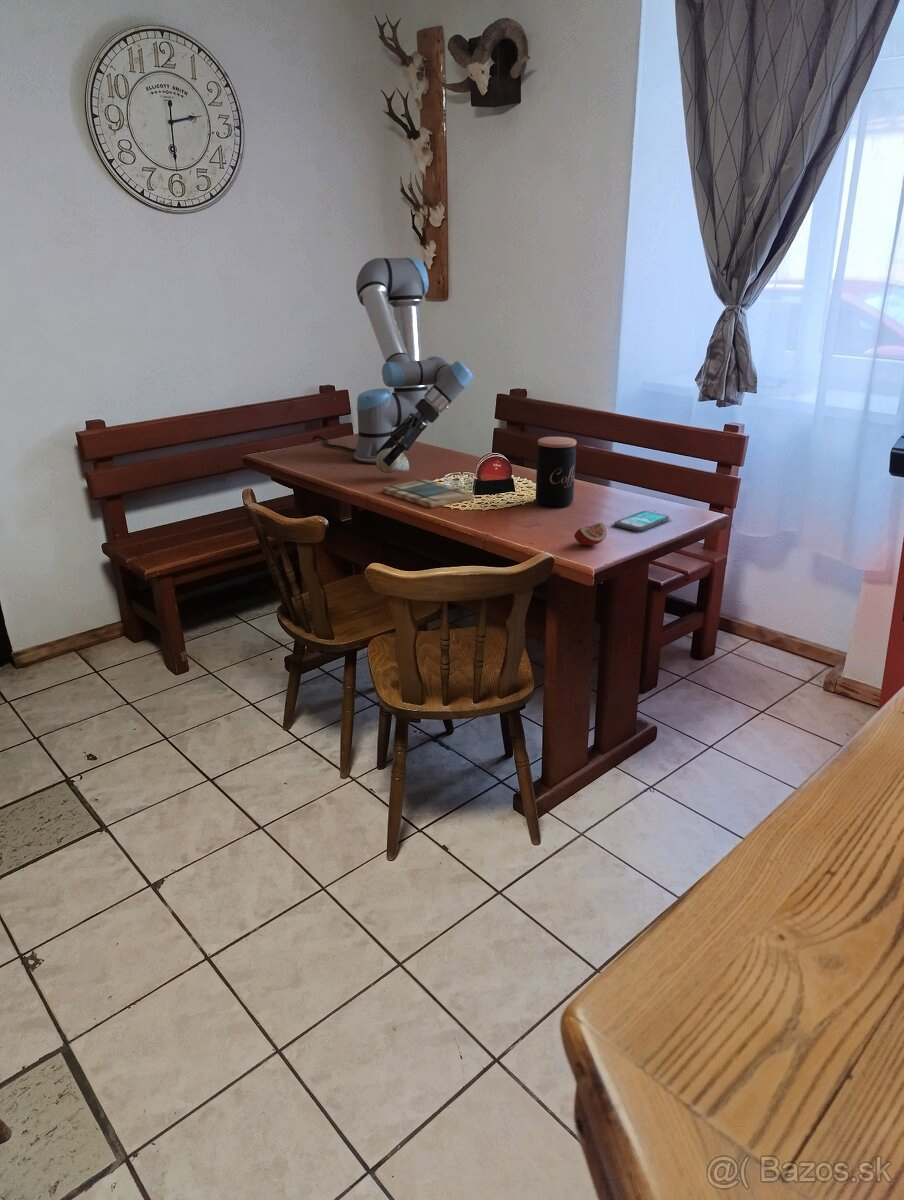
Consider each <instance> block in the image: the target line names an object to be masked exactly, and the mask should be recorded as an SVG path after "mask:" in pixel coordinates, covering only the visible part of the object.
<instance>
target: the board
mask: <svg viewBox="0 0 904 1200" xmlns="http://www.w3.org/2000/svg"><path fill="white" fill-rule="evenodd" d="M382 493H383V494H386V495H389V496H392V497H396V498H398V499H402V500H405V501H408V502H411V503H414V504H417V505H421V506H423V507H426V508H430V509H433V508H437V507H441V506H445V505H448V504H453V503H457V502H461V501H465V500H469V499H473V498H474V497H473V496H474V495H473V493H474V492H471V491H468V490H464V489H461V488H457V487H454V486H450V485H446V484H444V483H440V482H437V481H434V480H433V481H432V480H429V479H426V478H421V479H416V480H413V481H412V480H411V481H408V482H403V483H399V484H394V485H389V486H386V487H385V486H384V487H382Z"/></svg>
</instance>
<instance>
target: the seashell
mask: <svg viewBox="0 0 904 1200" xmlns="http://www.w3.org/2000/svg"><path fill="white" fill-rule="evenodd" d="M392 449H393V448H388V449H384V450H382V451H381V452H379V454H378V455H377V458H376V464H375V466H376V469H378V470H379V471H380V473H381V472H382V473H384V474H392V473H394V472H395V471H400V472H401V471H402V472H403V471H404V472H409V471H410V463H409V460H408V457H407V456H406V455H405V454H404V452H402V453H401V454H400V455H399V456H398V458H397V459H396V460H395V461H394V462H393V463H392V464H391V465H390V466H388V465H387V464H386V463H385V462H383V461H382V460H383V459H384V458H385V457H386V456H387V455H388V454H389V452H390V451H391V450H392Z"/></svg>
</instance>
